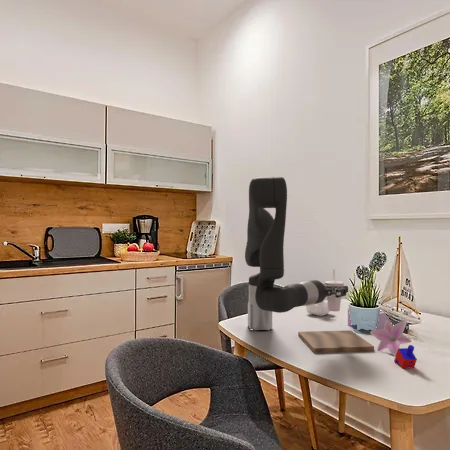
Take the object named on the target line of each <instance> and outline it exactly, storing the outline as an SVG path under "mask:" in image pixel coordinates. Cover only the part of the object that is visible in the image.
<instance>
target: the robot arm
mask: <svg viewBox="0 0 450 450" xmlns="http://www.w3.org/2000/svg"><path fill="white" fill-rule="evenodd" d="M249 182H250V183H249V186H248V211H249V212H248V220H247V230H246V231H247V233H246V234H247V236H246V237H247V240H246V244H245V245H246V246H245V250H244V251H245V252H244V260H245V263H246V265H247V266H248V267H253V268H259V272H258V273H256V274H252V275H250V276H249V277H248V302H247V327H248V326H249V327H248V329H249V328H250V329H254V330H253V331H255V330H268V331H270V329H271V330H273V312H274V313H276V314H278V313H280V314H281V313H287V312H289V311H291V310H292V309H294V308H298V307H306V306H308V305H312V304H317V303H321V302H322V301H323V300H324V299H325V297H326V298H327V297H330V296H336V297H337V298H339V297H341V298H342V297H345V296H347V293H348V292H349V286H348V285H344V286H340V287H337V286H334V285H331V286H328V285H325V283H322V282H321V281H320V280H316V279H313V280H306V281H301V282H298V283H290V284H287V285H285V286H283V287H274V285H275V281H276V280H280V279H282V278H283V277H284V275H285V263H284V262H285V261H284V260H285V257H284V256H285V255H284V245H285V243H284V242H285V231H286V218H287V205H288V204H287V203H288V188H287V182H286V179H285V178H284V176H283V177H282V176H257V177H253V178H252V179H251V181H249ZM266 209H275V215H274V217H273V216H272V214H271V213H270V211H268V210H266ZM332 288H333V291H332ZM324 301H325V300H324ZM250 329H249V330H250Z"/></svg>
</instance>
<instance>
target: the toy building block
mask: <svg viewBox="0 0 450 450" xmlns="http://www.w3.org/2000/svg"><path fill="white" fill-rule="evenodd" d="M414 349H415V347H414V345H412V344H409V345H408V347H406V348H405V347H404V348H403V347H401V348H400V347H399V348H398V351H397V354H396V357H395V356H394V361H393V362H394V363H395V364H399V366H400V368H401V369H414V368H415V366H416V363H417V360H418V359H417V357H416V355H415V354H414Z"/></svg>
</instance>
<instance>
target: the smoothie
mask: <svg viewBox="0 0 450 450" xmlns="http://www.w3.org/2000/svg"><path fill="white" fill-rule="evenodd" d="M335 270H336V269H335V268H334V269H332V280H326V281H324V284H325V285H328V286H331V285H334V286H337V287H340V286H345V284H344V281H338V280H336V274H335V273H336V271H335ZM332 291H333V288H332ZM341 301H342V297H339V298H337V297H336V296H330V297H326V302H328V310H329V311H330V312H340V310H341Z"/></svg>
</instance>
